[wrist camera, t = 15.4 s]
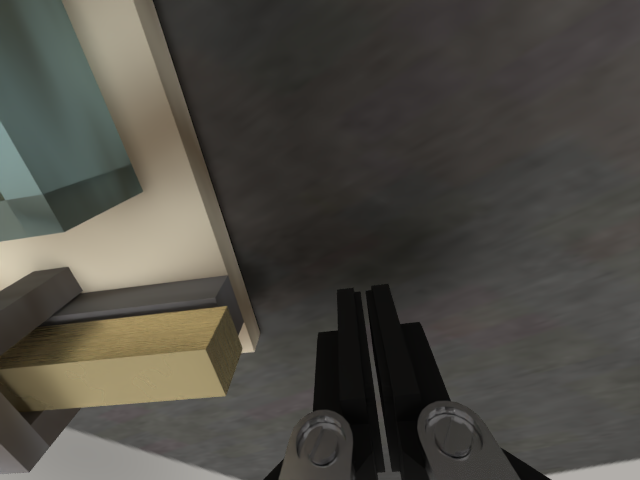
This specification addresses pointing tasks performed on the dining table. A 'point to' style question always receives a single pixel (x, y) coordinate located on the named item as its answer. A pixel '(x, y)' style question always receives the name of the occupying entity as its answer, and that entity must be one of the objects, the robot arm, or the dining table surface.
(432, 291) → the dining table surface
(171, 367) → the lock bolt
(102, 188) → the dock
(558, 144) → the dining table surface
